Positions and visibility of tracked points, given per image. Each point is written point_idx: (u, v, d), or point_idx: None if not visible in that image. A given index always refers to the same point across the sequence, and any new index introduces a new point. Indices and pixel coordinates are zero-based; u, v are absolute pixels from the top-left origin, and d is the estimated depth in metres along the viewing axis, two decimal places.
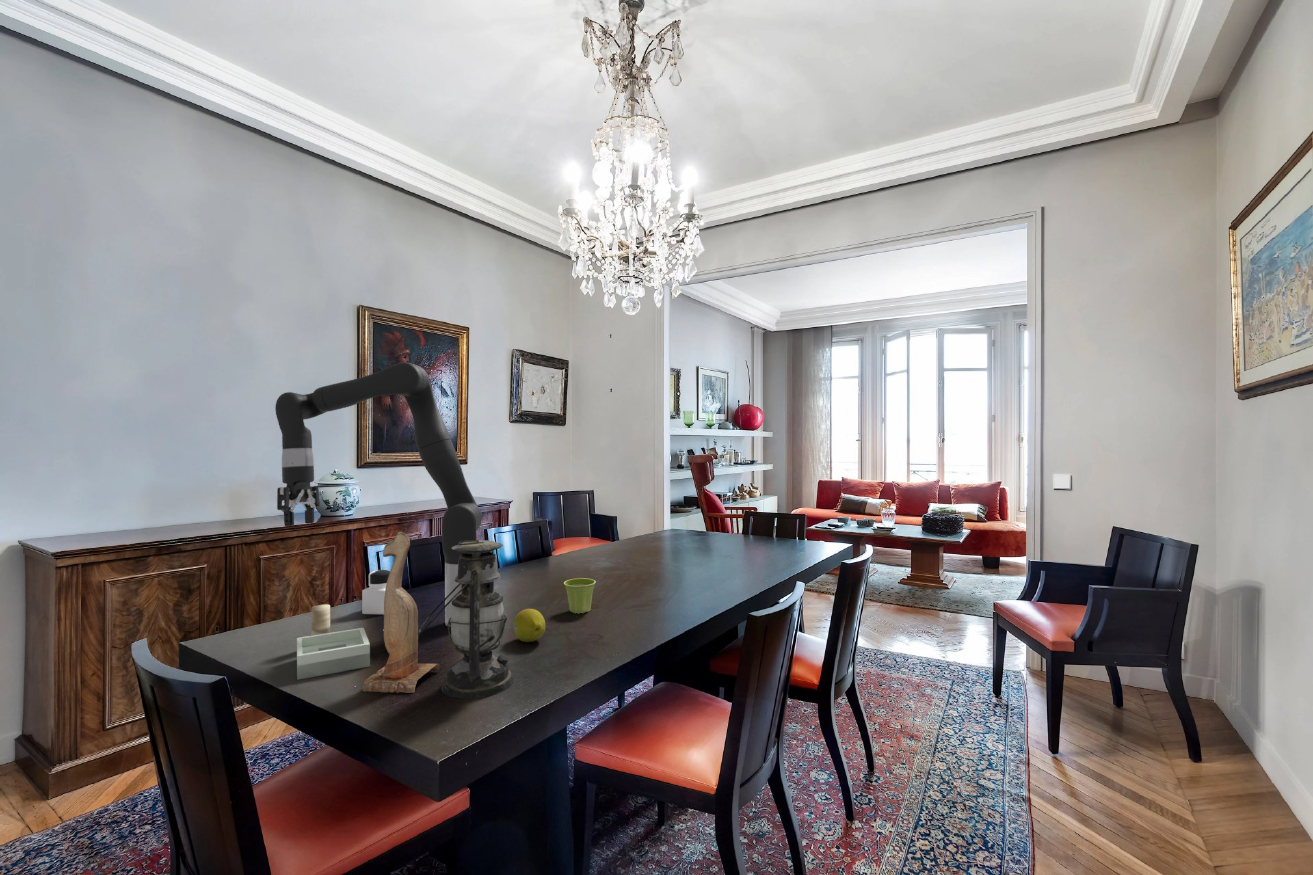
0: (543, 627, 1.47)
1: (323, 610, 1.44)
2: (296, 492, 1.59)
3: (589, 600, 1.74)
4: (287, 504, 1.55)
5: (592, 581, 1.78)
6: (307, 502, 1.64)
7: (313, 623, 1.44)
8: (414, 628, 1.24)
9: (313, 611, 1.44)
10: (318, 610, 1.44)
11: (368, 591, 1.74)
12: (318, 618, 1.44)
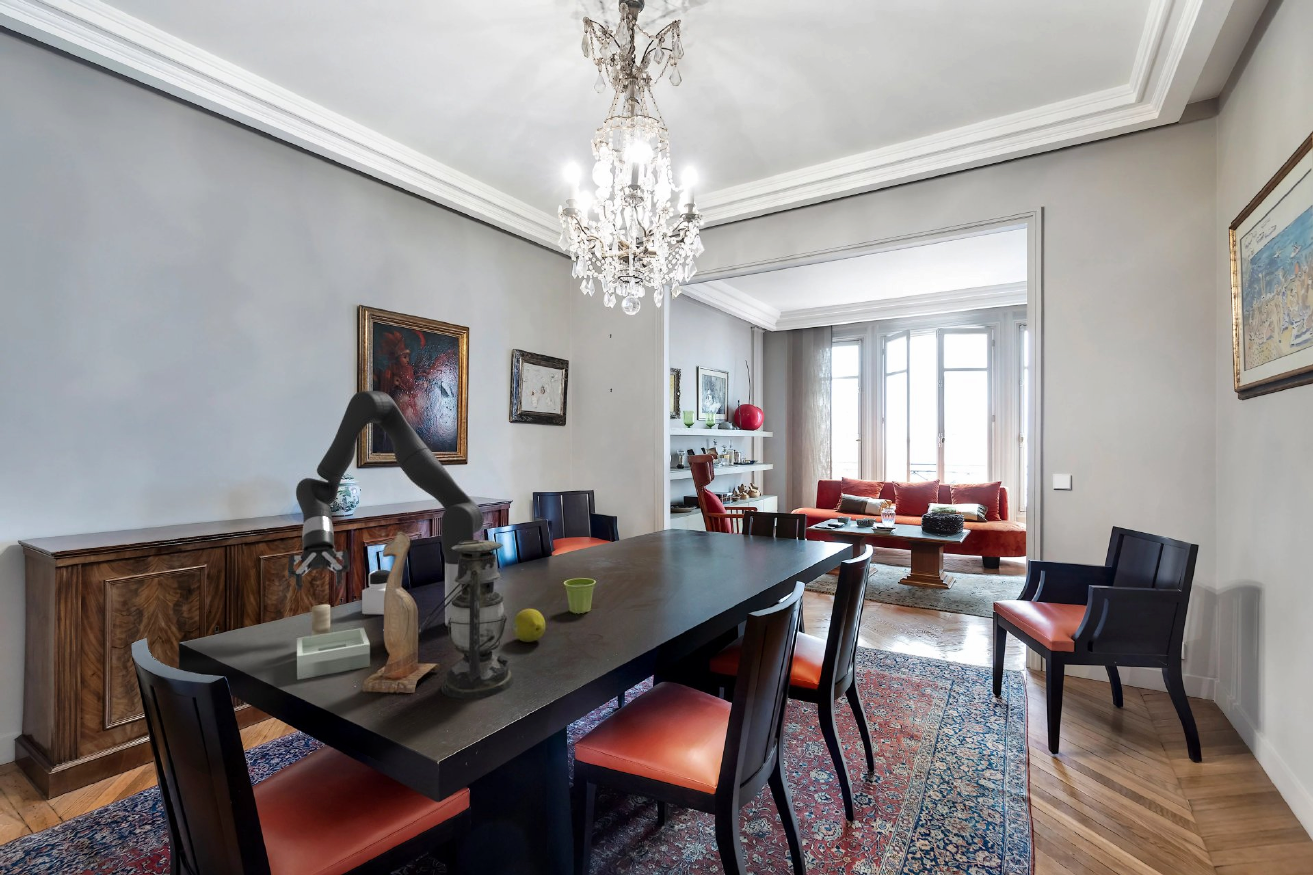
0: (543, 627, 1.47)
1: (323, 610, 1.44)
2: (307, 557, 1.57)
3: (589, 600, 1.74)
4: (290, 568, 1.53)
5: (592, 581, 1.78)
6: (331, 565, 1.59)
7: (313, 623, 1.44)
8: (414, 628, 1.24)
9: (313, 611, 1.44)
10: (318, 610, 1.44)
11: (368, 591, 1.74)
12: (318, 618, 1.44)
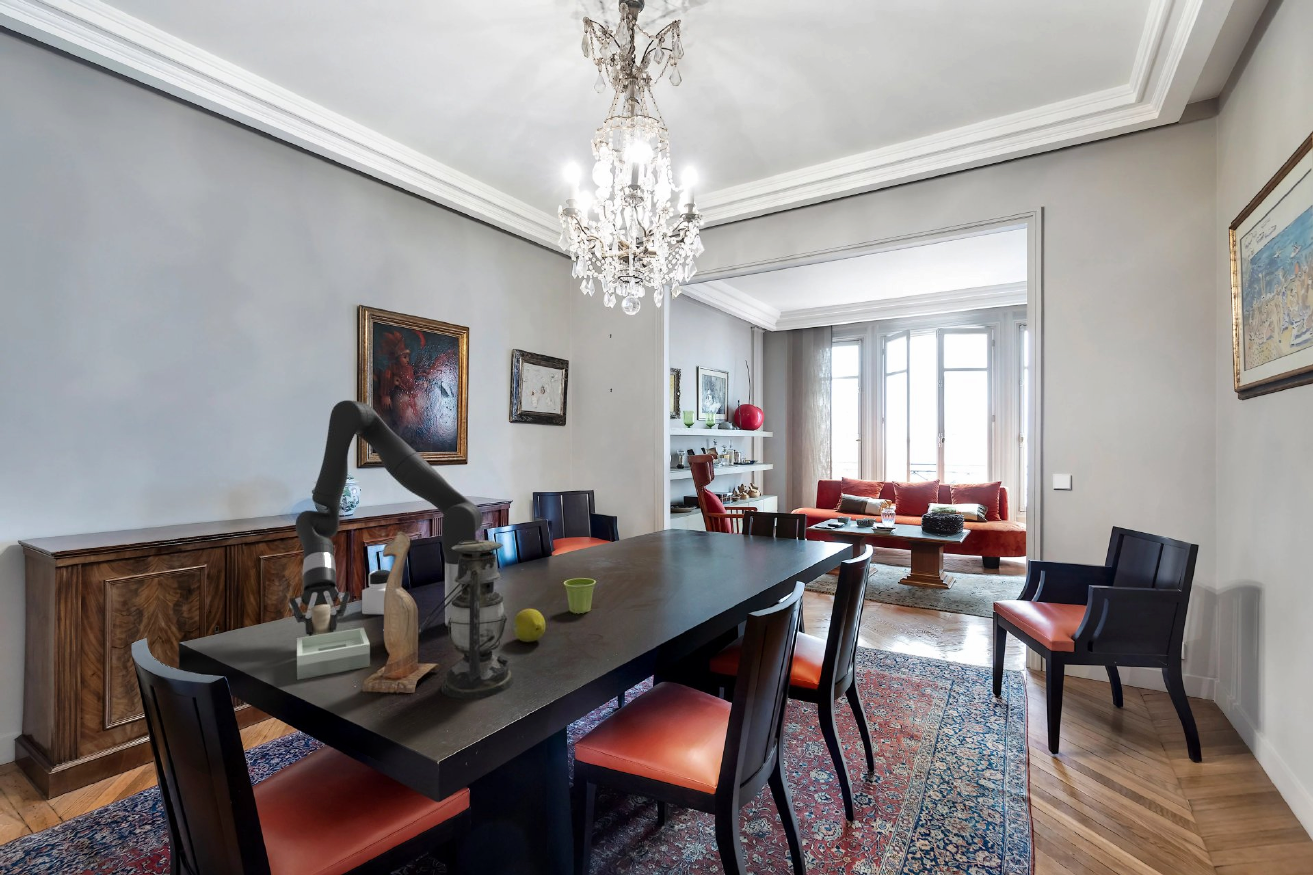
0: (543, 627, 1.47)
1: (323, 610, 1.44)
2: (309, 599, 1.48)
3: (589, 600, 1.74)
4: (298, 612, 1.44)
5: (592, 581, 1.78)
6: None
7: (313, 623, 1.44)
8: (414, 628, 1.24)
9: (313, 611, 1.44)
10: (318, 610, 1.44)
11: (368, 591, 1.74)
12: (318, 618, 1.44)
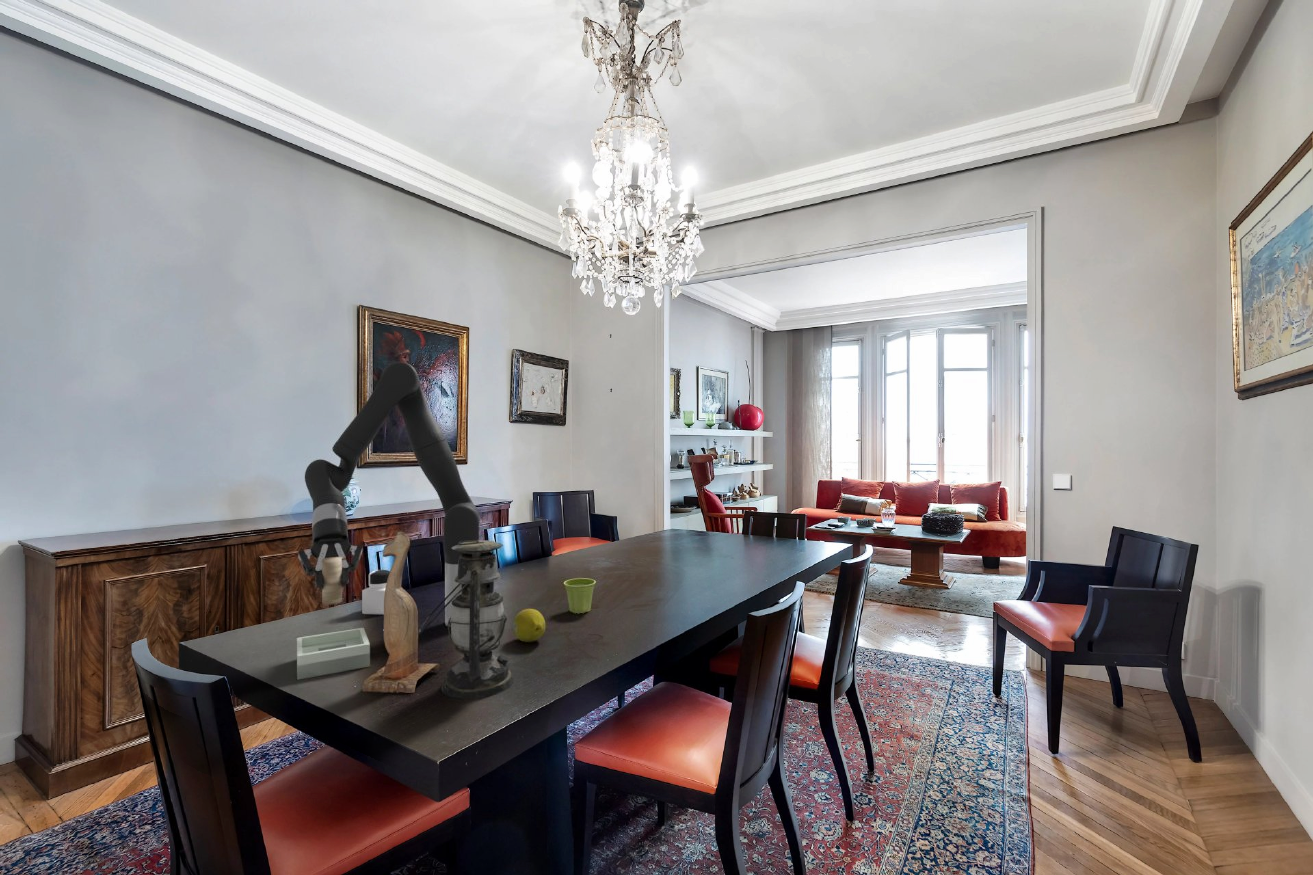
0: (543, 627, 1.47)
1: (335, 562, 1.34)
2: (319, 551, 1.38)
3: (589, 600, 1.74)
4: (308, 564, 1.34)
5: (592, 581, 1.78)
6: None
7: (324, 576, 1.34)
8: (414, 628, 1.24)
9: (324, 563, 1.34)
10: (329, 562, 1.34)
11: (368, 591, 1.74)
12: (329, 570, 1.34)
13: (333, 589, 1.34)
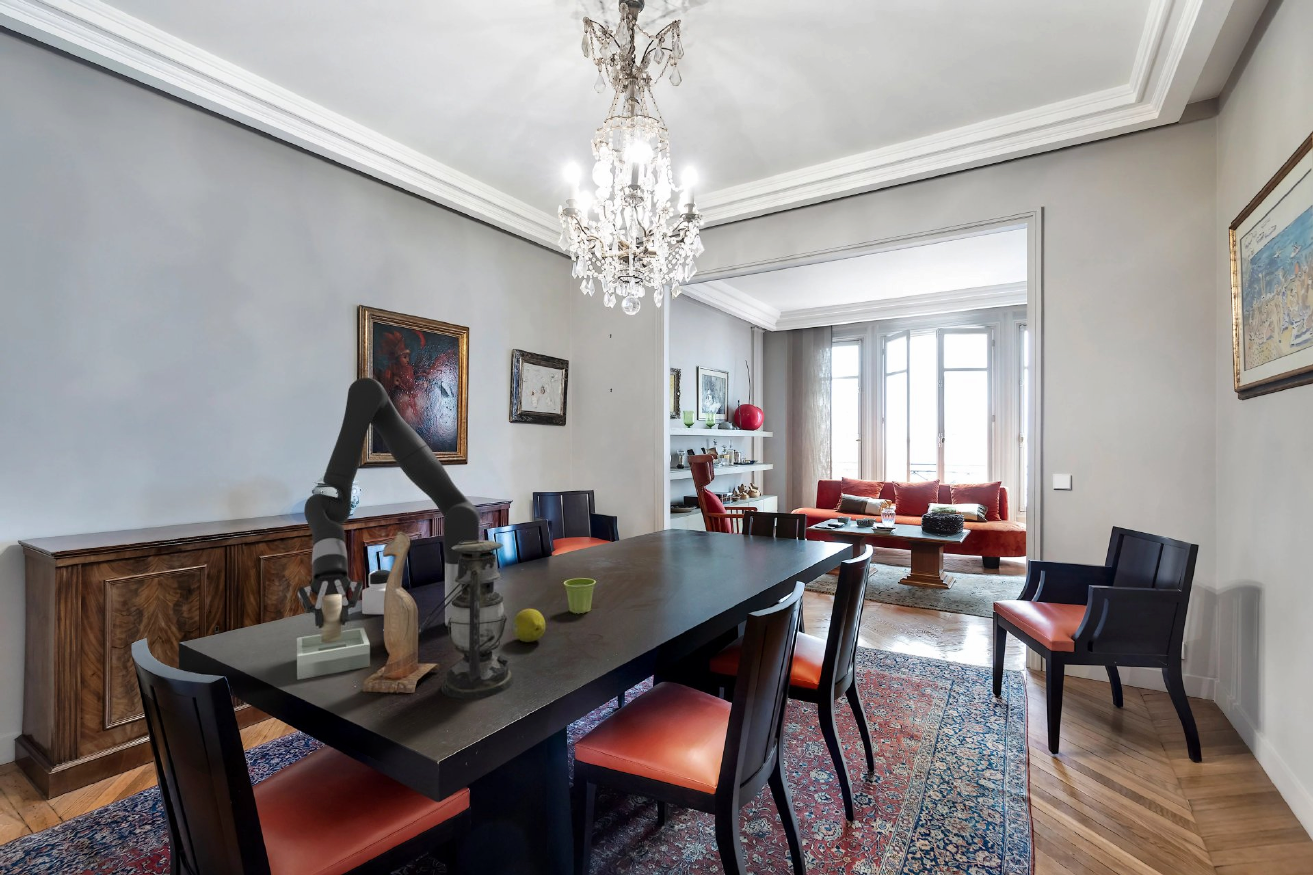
0: (543, 627, 1.47)
1: (335, 600, 1.34)
2: (319, 588, 1.37)
3: (589, 600, 1.74)
4: (307, 602, 1.34)
5: (592, 581, 1.78)
6: None
7: (323, 614, 1.34)
8: (414, 628, 1.24)
9: (324, 601, 1.34)
10: (329, 600, 1.33)
11: (368, 591, 1.74)
12: (328, 609, 1.33)
13: (333, 627, 1.34)
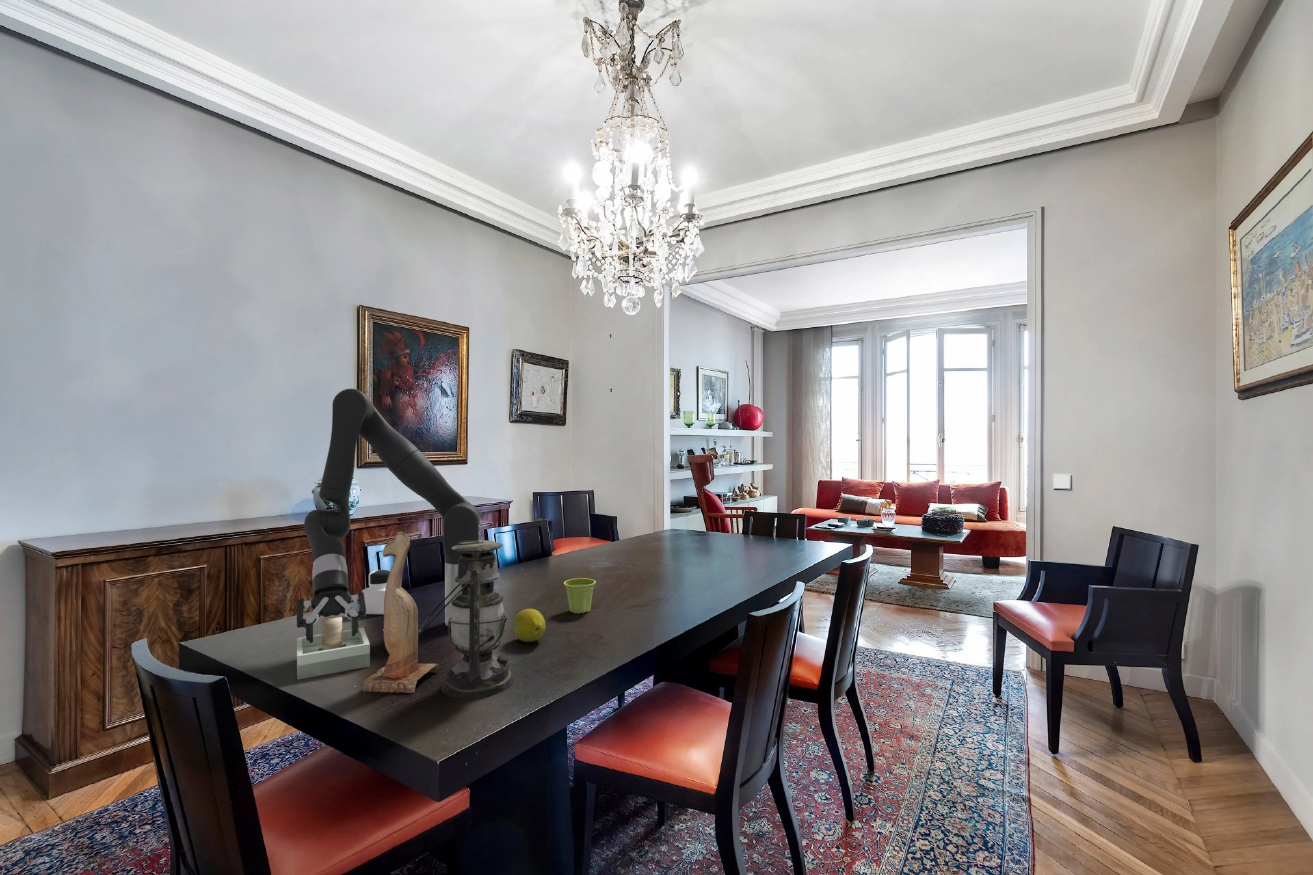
0: (543, 627, 1.47)
1: (335, 623, 1.34)
2: (318, 602, 1.38)
3: (589, 600, 1.74)
4: (300, 616, 1.34)
5: (592, 581, 1.78)
6: (346, 611, 1.39)
7: (324, 637, 1.34)
8: (414, 628, 1.24)
9: (324, 624, 1.34)
10: (329, 623, 1.33)
11: (368, 591, 1.74)
12: (329, 632, 1.33)
13: None
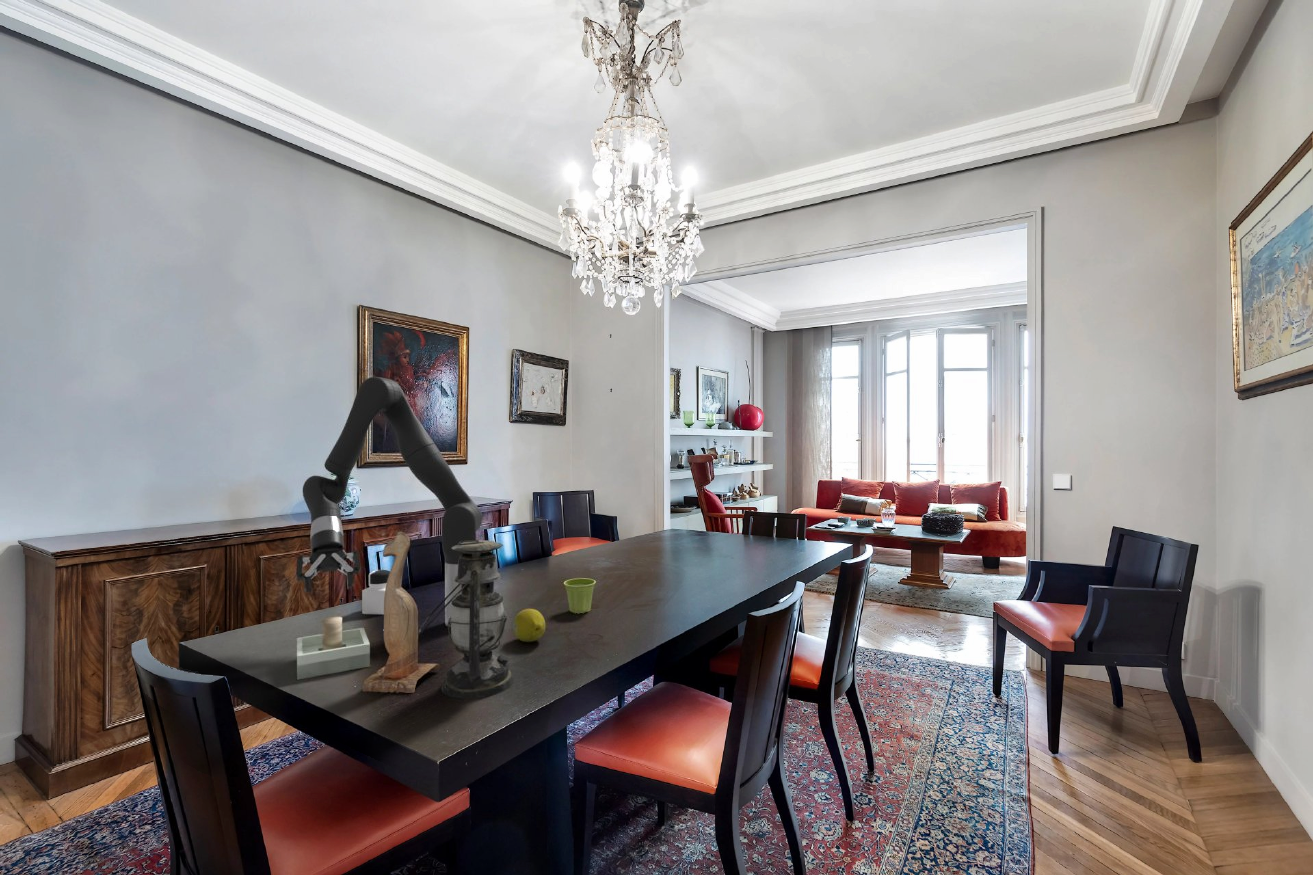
0: (543, 627, 1.47)
1: (335, 623, 1.34)
2: (316, 559, 1.49)
3: (589, 600, 1.74)
4: (299, 570, 1.45)
5: (592, 581, 1.78)
6: (342, 567, 1.51)
7: (324, 637, 1.34)
8: (414, 628, 1.24)
9: (324, 624, 1.34)
10: (329, 623, 1.33)
11: (368, 591, 1.74)
12: (329, 632, 1.33)
13: None
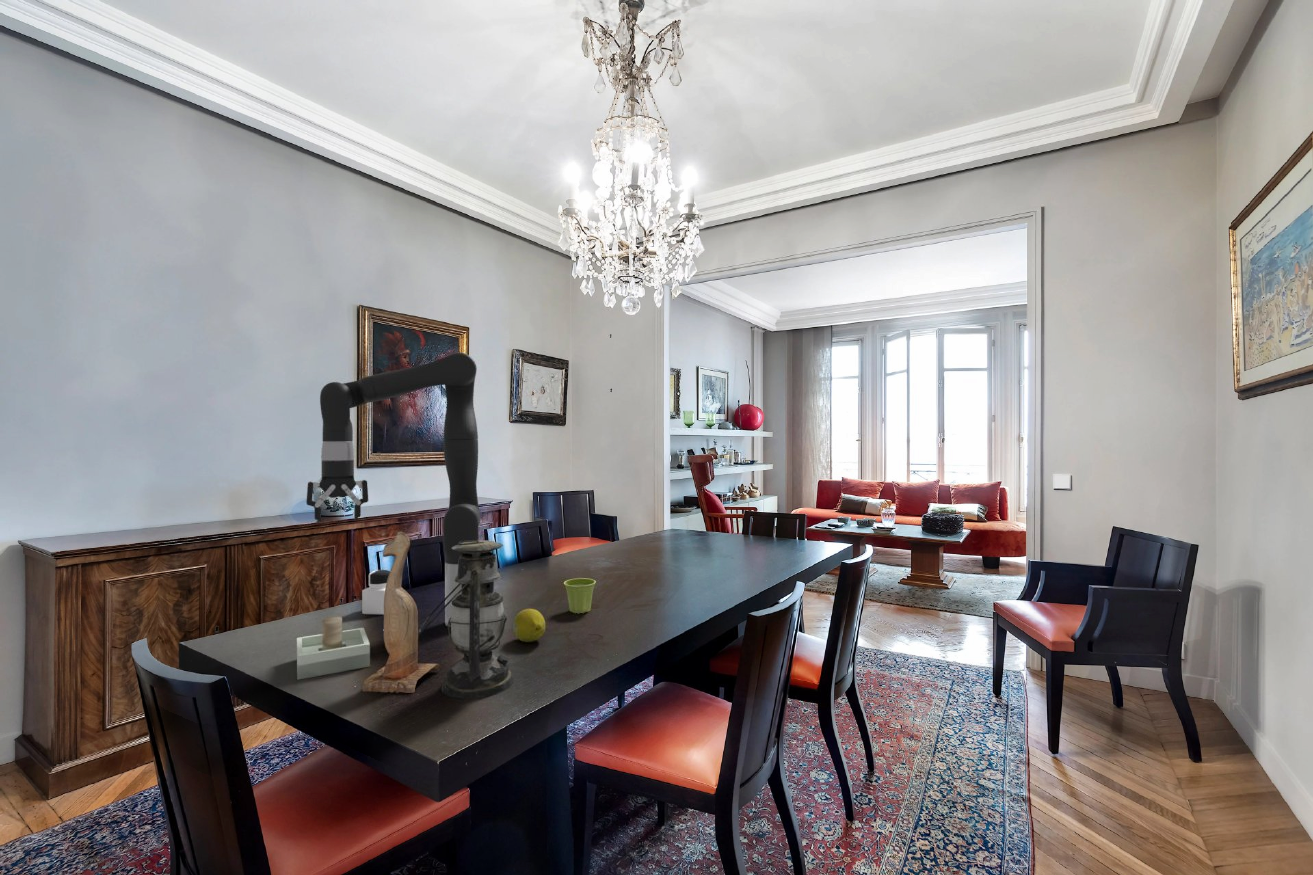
0: (543, 627, 1.47)
1: (335, 623, 1.34)
2: (326, 487, 1.53)
3: (589, 600, 1.74)
4: (309, 499, 1.51)
5: (592, 581, 1.78)
6: (350, 497, 1.56)
7: (324, 637, 1.34)
8: (414, 628, 1.24)
9: (324, 624, 1.34)
10: (329, 623, 1.33)
11: (368, 591, 1.74)
12: (329, 632, 1.33)
13: None
